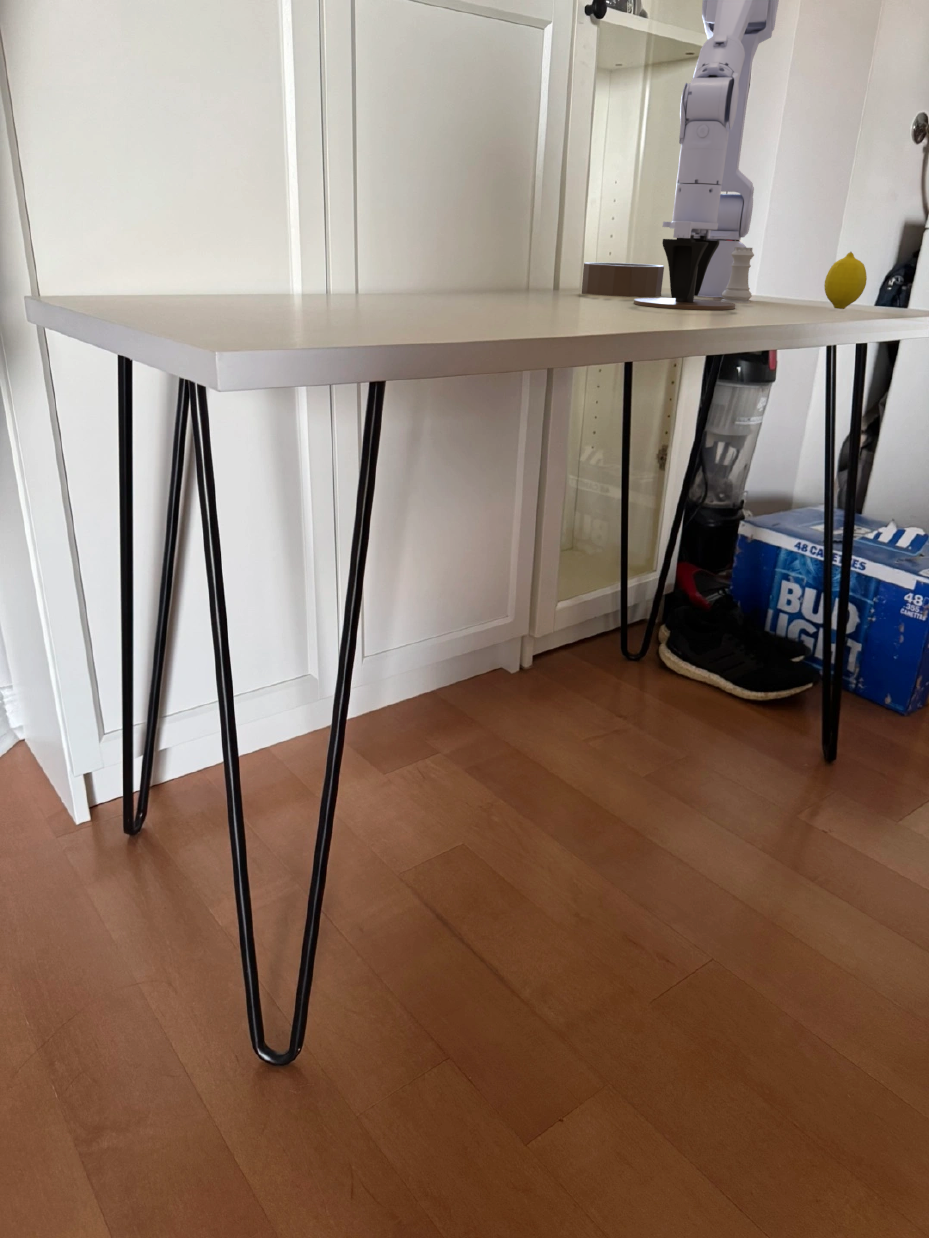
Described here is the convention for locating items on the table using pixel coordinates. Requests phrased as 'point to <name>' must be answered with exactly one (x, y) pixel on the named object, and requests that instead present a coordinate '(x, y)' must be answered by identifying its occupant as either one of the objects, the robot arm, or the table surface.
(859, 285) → the fruit
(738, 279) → the rook chess piece
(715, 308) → the tin lid
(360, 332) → the table surface
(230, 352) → the table surface
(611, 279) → the tin
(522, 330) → the table surface
